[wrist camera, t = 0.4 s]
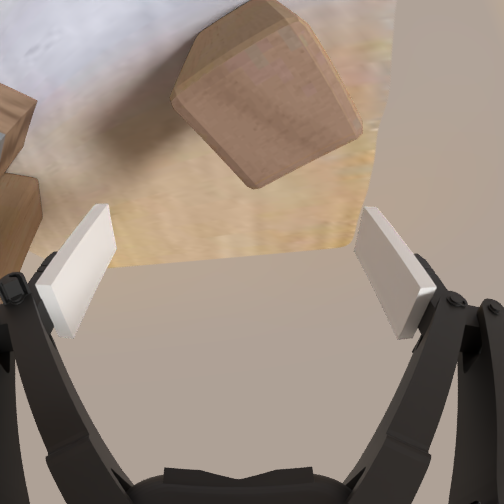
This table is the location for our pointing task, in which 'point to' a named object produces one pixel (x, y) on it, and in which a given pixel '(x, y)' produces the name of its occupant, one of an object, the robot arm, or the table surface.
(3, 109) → the walnut base cube
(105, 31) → the table surface
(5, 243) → the block
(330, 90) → the wooden block
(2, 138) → the grey cube
